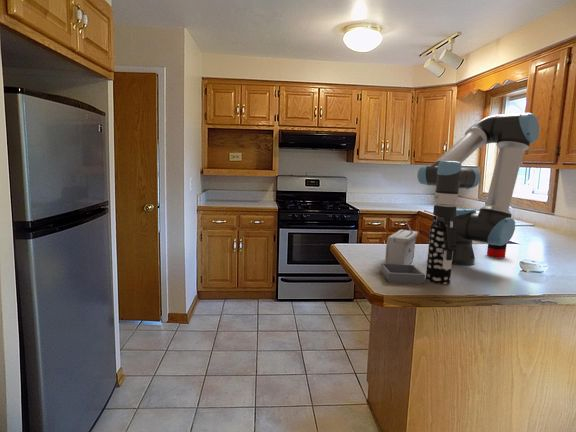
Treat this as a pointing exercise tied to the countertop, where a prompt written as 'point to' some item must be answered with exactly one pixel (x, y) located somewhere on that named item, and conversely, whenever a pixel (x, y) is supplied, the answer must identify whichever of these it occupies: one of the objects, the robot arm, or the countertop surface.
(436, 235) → the spotted tube
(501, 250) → the soda can
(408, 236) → the stereo radio cassette player
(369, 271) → the countertop surface
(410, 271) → the tray
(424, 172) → the robot arm
